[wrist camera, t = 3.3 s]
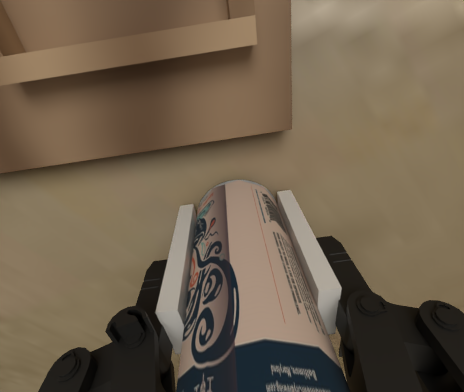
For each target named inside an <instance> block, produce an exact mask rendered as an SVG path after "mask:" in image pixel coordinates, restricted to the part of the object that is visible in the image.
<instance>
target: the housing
mask: <svg viewBox="0 0 464 392" xmlns="http://www.w3.org/2000/svg"><path fill="white" fill-rule="evenodd" d="M290 129H292V80H291V0H0V173H6V172H13V171H20V170H26V169H33V168H39V167H46V166H53V165H59V164H66V163H72V162H79V161H86V160H92V159H99V158H106V157H112V156H119V155H125V154H132V153H139V152H145V151H152V150H158V149H165V148H172V147H178V146H185V145H191V144H198V143H205V142H211V141H218V140H224V139H231V138H238V137H244V136H251V135H257V134H264V133H271V132H277V131H284V130H290Z"/></svg>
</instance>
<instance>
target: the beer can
mask: <svg viewBox="0 0 464 392" xmlns="http://www.w3.org/2000/svg"><path fill="white" fill-rule="evenodd" d="M176 392H350V389H349V387H348V384H347V381H346V379H345V376H344V374H343V371H342V369H341V366H340V363H339V361H338V358H337V356H336V353H335V351H334V348H333V346H332V343H331V340H330V338H329V335H328V333H327V330H326V328H325V325H324V322H323V320H322V317H321V315H320V312H319V310H318V307H317V305H316V302H315V300H314V297H313V295H312V292H311V289H310V287H309V284H308V282H307V279H306V277H305V274H304V271H303V269H302V266H301V264H300V261H299V259H298V256H297V253H296V251H295V248H294V246H293V243H292V241H291V238H290V235H289V233H288V230H287V228H286V225H285V223H284V220H283V217H282V215H281V212H280V210H279V207H278V204H277V202H276V200H275V198H274V196H273V195H272V194H271V193H270V191H269V190H268V189H266V188H265V187H264V186H262V185H260V184H258V183H256V182H253V181H249V180H231V181H226V182H223V183H221V184H219V185H216V186H215V187H213V188H212V189H211V190H209V191H208V192H207V193H206V194H205V196H204V197H203V198H202V200H201V201H200V204H199V206H198V212H197V221H196V229H195V238H194V246H193V255H192V263H191V272H190V280H189V288H188V297H187V305H186V314H185V322H184V331H183V339H182V348H181V356H180V365H179V373H178V382H177V390H176Z"/></svg>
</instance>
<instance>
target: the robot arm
mask: <svg viewBox="0 0 464 392" xmlns="http://www.w3.org/2000/svg"><path fill="white" fill-rule="evenodd" d="M277 200H278V207H279V210H280V212H281V215H282V217H283V220H284V223H285V225H286V228H287V230H288V233H289V235H290V238H291V241H292V243H293V246H294V248H295V251H296V253H297V256H298V259H299V261H300V264H301V266H302V269H303V271H304V274H305V277H306V279H307V282H308V284H309V287H310V289H311V292H312V295H313V297H314V300H315V302H316V305H317V307H318V310H319V312H320V315H321V317H322V320H323V322H324V325H325V328H326V330H327V333H328V335H329V334H335V330H336V327H337V329H338V331H339V334H340V336H341V342H340V348H339V357H343V362H344V368H345V374H346V380H347V384H348V387H349V389H350V392H464V313H463V312H461V311H460V310H459V309H457V308H456V307H454V306H452V305H450V304H448V303H445V302H441V301H434V300H429V301H426V302H423V303H422V305H421V306H420V307H419V308H413V307H407V306H400V305H395V304H391V303H389V302H387V301H385V300H384V299H383V298H382V297H381V296H379V295H377V294H375V293H373V292H372V291H371V289H370V288H369V287H368V285H367V284H366V282H365V280H364V279H363V277H362V276H361V274H360V273H359V271H358V269H357V268H356V266H355V265H354V263H353V262H352V261H351V258H350V257H349V255H348V254H347V253H346V251H345V249H344V247H343V246H342V244H341V243H340V242H339V241H337V240H336V239H335V238H333V237H332V236H327V237H320V238H315V236H314V234H313V232H312V230H311V228H310V226H309V224H308V222H307V220H306V218H305V217H304V215H303V213H302V211H301V209H300V207H299V205H298V203H297V201H296V199H295V197H294V195H293V194H292V192H291V190H286V191H279V192H277ZM196 221H197V216H196V212H195V208H194V204H189V205H182V206H180V209H179V213H178V217H177V222H176V226H175V230H174V235H173V239H172V243H171V247H170V252H169V256H168V259H167V260H160V261H154V262H153V263H152V264H151V266H150V267H149V268H148V270H147V271H146V275H145V278H144V282H143V284H142V287H141V291H140V294H139V297H138V300H137V303H136V306H132V307H127V308H125V309H123V310H121V311H120V312H118V313H117V314H116V315H115V316H114V317H113V318H112V319H111V321H110V322H109V323H108V326H107V328H106V331H105V332H106V333H107V334H108V336H109V337H110V339H111V340H112V341H113V342H111V343H110V344H108V345H105V346H103V347H101V348H99V349H97V350H94V351H92V352H89V351H88V350H87V349H86V348H81V347H78V348H75V349H72V350H70V351H68V352H66V353H65V354H63V355H62V356H61V357H60V358H59V359H58V360H57V361H56V362H55V363H54V364H53V366H52V367H51V369H50V370H49V372H48V374H47V376H46V378H45V380H44V382H43V384H42V385H41V387H40V389H39V391H38V392H176V389H175V377H174V367H173V363H172V361H171V354H172V348H173V349H174V351H175V353H176V354H181V348H182V339H183V331H184V322H185V314H186V305H187V297H188V288H189V280H190V272H191V263H192V255H193V246H194V238H195V229H196Z"/></svg>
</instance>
